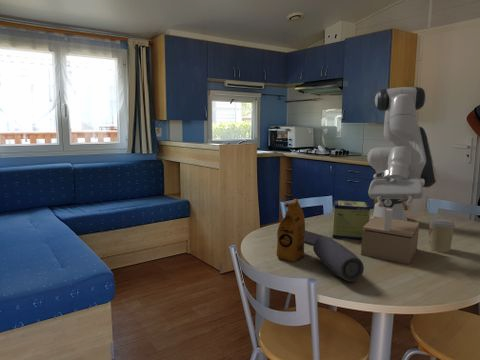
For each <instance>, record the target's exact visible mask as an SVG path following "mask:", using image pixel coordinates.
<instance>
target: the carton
mask: <svg viewBox="0 0 480 360" xmlns="http://www.w3.org/2000/svg"><path fill="white" fill-rule="evenodd" d="M419 230H420V225H419V226H418V228H417V229H416V231H415V233H414V235H413V236H412V237H407V236H401V235H395V234H388V233H382V232H376V231H370V230H363V231H362V240H361V247H360V249H361V250H360V255H361V256H366V257H372V258H375V259H376V258H377V259H380V260H386V261H390V262H391V261H392V262H396V263H400V264H401V263H402V264H405V265H406V264H407V265H410V264H411V262H412V260H413V258H414V256H415V254H416V252H417V250H418V241H419V240H418V239H419Z"/></svg>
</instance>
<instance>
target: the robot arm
mask: <svg viewBox="0 0 480 360" xmlns="http://www.w3.org/2000/svg"><path fill="white" fill-rule="evenodd" d="M374 97H375V98H374V104H375V107H376V109H377V110H378V111H380V112H385V113H384V121H383V137H384V138H385V140H386V141H388V142H390V143H392V144H393V145H395V146H393V147H385V146H383V147H381V146H380V147H379V146H378V147H374V148H373V147H372V148H371V149H370V150H369V151H368V153H367V156H366V157H367V159H366V160H367V162H368V165H370V167H371V168H373V169H374V171H375V172H376V173H375V174H373V179H372V180H371V182H370V184H369V187H368V191H367V193H368V196H369V198H370V199H371V200H377V202H376V203H375V204H374V211H373V215H372V216H369V220H371V219H372V218H373V217H374V216H375V217H382V218H385V213H386V209H387V208H388V209H393V213H392V219H396V220H403V221H408V217H407V215H406V213H405V208H410V204H411V203H412V202H414V201H413V200H416V199H417V200H420V199H423V197H424V188H431V187H432V186H433V185H434V184H436V183H437V180H438V174H437V169H436V167H435V165H434V162H433V156H432V152H431V148H430V143H429V139H428V136H427V132H426V131H425V128H424V127H422V126H420V125H419V123H418V121H417V110H420V109H422V108H423V107H424V105H425V103H426V101H427V95H426V92H425V90H424V88H423V87H419V86H414V87H411V86H409V87H408V86H400V87H393V88H392V87H391V88H383V89H379V90H378V91H377V92H376V95H375V96H374ZM411 142H412V143H414V144H416V145H417V146H418V150H419V151H418V150H417V149H416V148H415V147H414V146H413V145H412V143H411ZM403 200H406V201H403ZM403 202H404V203H403Z"/></svg>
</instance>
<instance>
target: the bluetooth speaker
mask: <svg viewBox="0 0 480 360" xmlns="http://www.w3.org/2000/svg"><path fill="white" fill-rule="evenodd" d="M329 237H330V236H326V235H323V237H320V238H318V239H317V240H316V242H315V243H314V246H312V247H313V248H312V249H313V252H314V254H315V255H316V257H317V258H318V259H319V260H320V261H321V262H322V263H323V264H324V265H325V266H326V267H327V269H328V270H329V271H330V272H332V273H333V274H334V275H335V276H336V277H338V278H341V279H343V280H345V281H347V282H355V281H357V280H359V279H360V278H361V277H362V275H363V273H364V271H365V267H364V263H363V261H362V259H360V257H358V256H357V255H356V254H355V253H354V252H353V251H351V250H350V249H348V248H347V247H346V246H344V245H343V244H341V243H339V242H338V241H336V240H334V238H332V237H330V238H329ZM331 238H332V239H331Z"/></svg>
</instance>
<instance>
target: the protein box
mask: <svg viewBox="0 0 480 360" xmlns="http://www.w3.org/2000/svg"><path fill="white" fill-rule="evenodd" d="M332 211H333V212H332V213H333V214H332V227H331V228H332V229H331V234H332V239H339V240H340V239H343V240H355V241H362V231H363V230H364V229H363V226H365V225H366V224H367V223H368V222H369V221H370V212H371V207H370V205H369V203H368V202H367V201H354V200H353V201H352V200H351V201H350V200H333V209H332Z"/></svg>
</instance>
